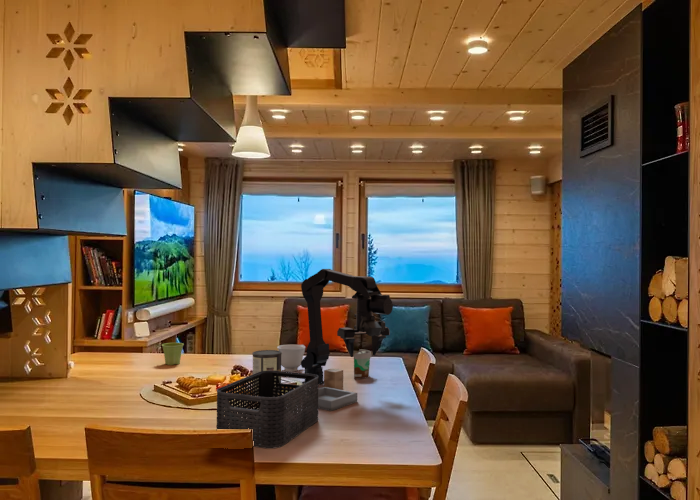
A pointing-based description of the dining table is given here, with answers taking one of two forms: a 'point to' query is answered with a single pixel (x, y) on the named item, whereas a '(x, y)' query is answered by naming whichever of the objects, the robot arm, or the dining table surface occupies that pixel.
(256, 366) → the coffee can
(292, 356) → the teacup
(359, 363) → the food container
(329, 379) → the walnut block
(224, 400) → the storage bin
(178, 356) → the plant pot
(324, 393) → the serving tray
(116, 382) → the dining table surface
